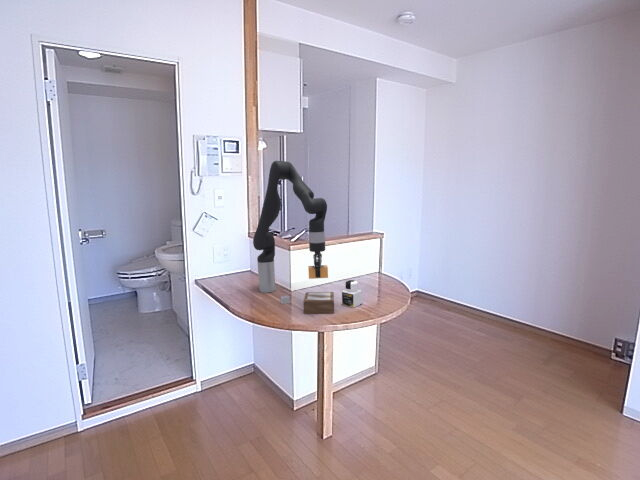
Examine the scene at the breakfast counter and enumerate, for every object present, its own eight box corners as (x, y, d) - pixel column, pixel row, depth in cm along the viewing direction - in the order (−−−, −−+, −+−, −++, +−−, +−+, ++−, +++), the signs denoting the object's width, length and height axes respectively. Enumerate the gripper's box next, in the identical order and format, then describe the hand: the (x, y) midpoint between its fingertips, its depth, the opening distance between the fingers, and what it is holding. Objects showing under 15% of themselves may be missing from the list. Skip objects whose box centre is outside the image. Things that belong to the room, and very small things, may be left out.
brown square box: (306, 303, 189) (305, 291, 188) (333, 303, 189) (333, 291, 188) (303, 314, 175) (303, 301, 174) (333, 313, 175) (333, 300, 174)
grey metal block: (280, 301, 194) (280, 296, 194) (288, 301, 195) (288, 295, 195) (282, 304, 190) (281, 298, 190) (289, 303, 191) (289, 297, 191)
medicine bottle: (341, 304, 186) (341, 281, 184) (350, 301, 191) (350, 278, 189) (353, 308, 181) (352, 284, 179) (362, 304, 186) (361, 280, 184)
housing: (327, 275, 182) (326, 264, 181) (328, 277, 177) (327, 267, 176) (308, 276, 182) (308, 265, 181) (309, 278, 177) (308, 268, 176)
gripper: (324, 243, 169) (325, 279, 172) (325, 238, 183) (326, 271, 186) (308, 243, 170) (309, 280, 172) (310, 238, 184) (311, 272, 187)
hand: (318, 275), depth 179 cm, fingers closed on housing, 5 cm apart
